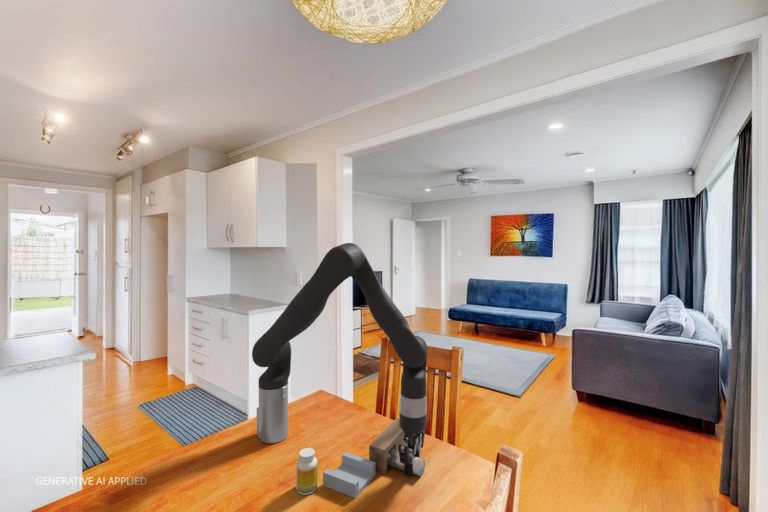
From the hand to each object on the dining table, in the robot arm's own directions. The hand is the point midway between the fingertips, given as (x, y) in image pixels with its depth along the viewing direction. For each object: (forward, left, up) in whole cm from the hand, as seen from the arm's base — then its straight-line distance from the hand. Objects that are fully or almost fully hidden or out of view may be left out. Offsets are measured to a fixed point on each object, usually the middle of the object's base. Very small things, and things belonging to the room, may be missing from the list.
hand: (411, 470), depth 98 cm
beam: (-9, +5, 0) cm, 10 cm away
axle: (-3, 0, 0) cm, 3 cm away
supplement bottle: (-21, -19, -1) cm, 29 cm away
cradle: (-13, -11, 0) cm, 17 cm away
